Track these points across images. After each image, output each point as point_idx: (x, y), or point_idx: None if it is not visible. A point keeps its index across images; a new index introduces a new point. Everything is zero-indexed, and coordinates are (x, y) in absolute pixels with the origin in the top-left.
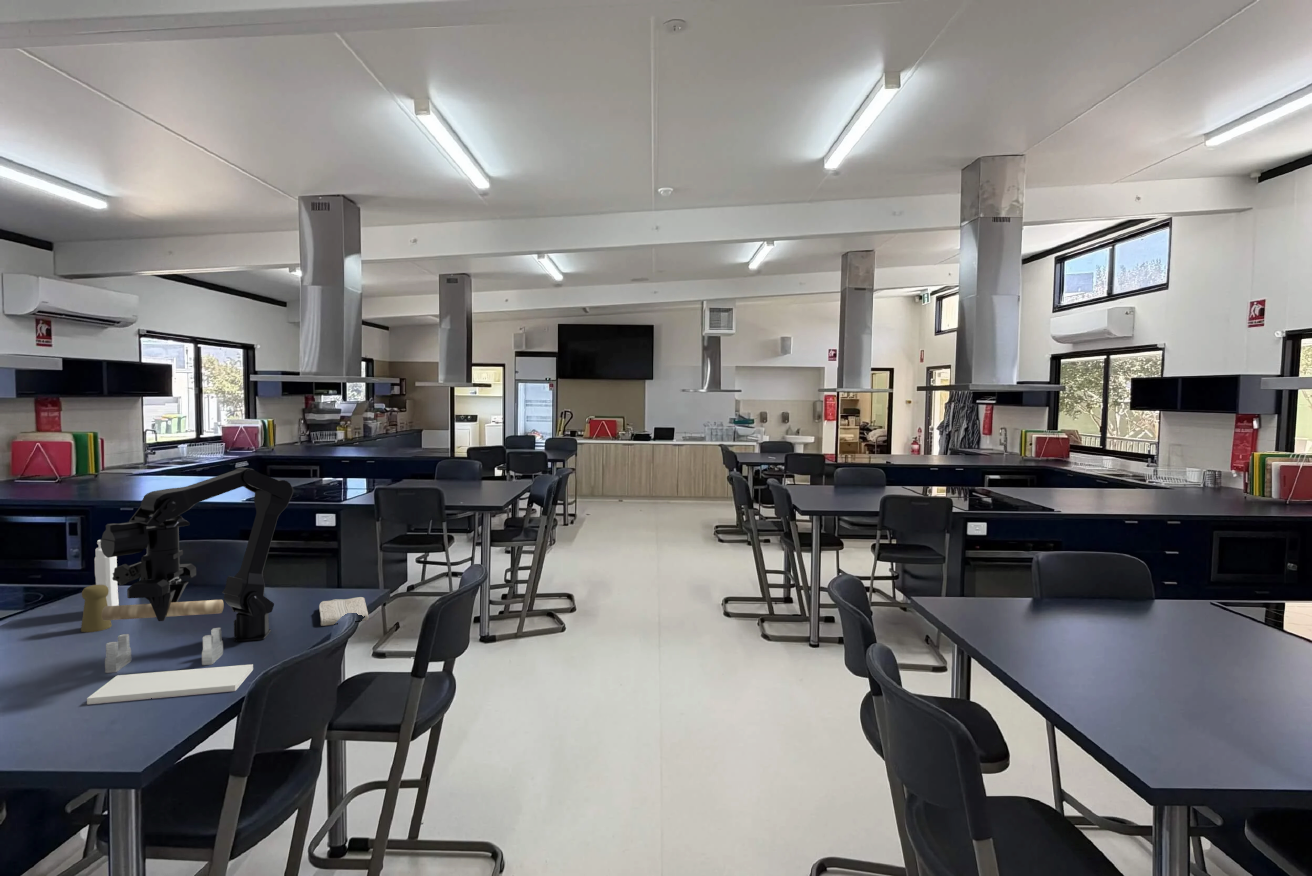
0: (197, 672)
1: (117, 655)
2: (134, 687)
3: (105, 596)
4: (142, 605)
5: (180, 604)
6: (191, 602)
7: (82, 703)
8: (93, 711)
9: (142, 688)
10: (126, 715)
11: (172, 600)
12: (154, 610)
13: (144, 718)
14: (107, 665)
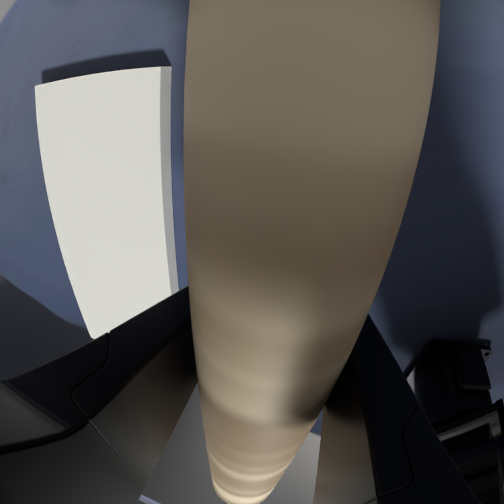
0: (145, 288)
1: None
2: (71, 166)
3: None
4: (231, 205)
5: (214, 450)
6: (226, 476)
7: (52, 68)
8: (24, 120)
9: (67, 188)
10: (16, 189)
11: (329, 452)
12: (132, 321)
13: (14, 220)
14: None
